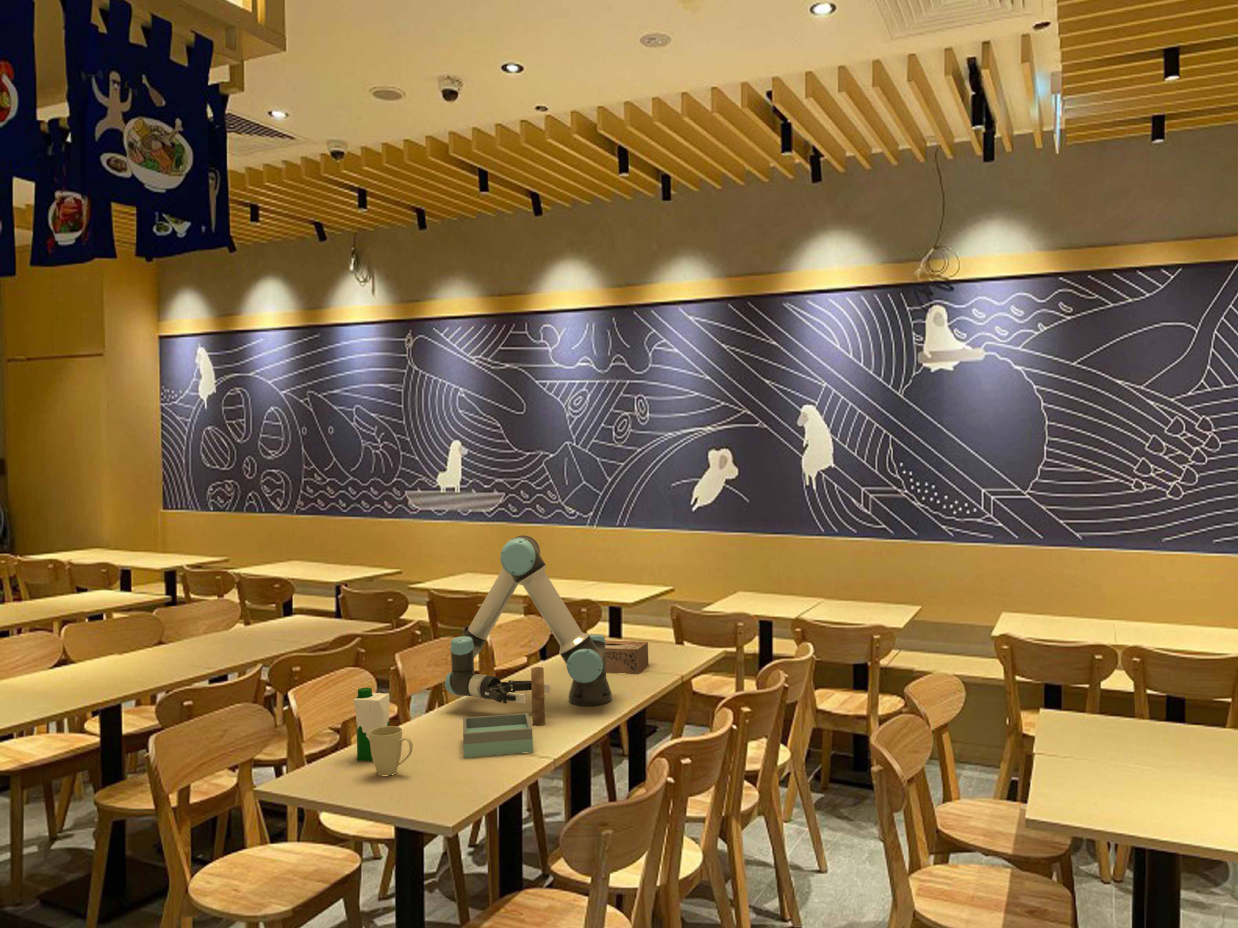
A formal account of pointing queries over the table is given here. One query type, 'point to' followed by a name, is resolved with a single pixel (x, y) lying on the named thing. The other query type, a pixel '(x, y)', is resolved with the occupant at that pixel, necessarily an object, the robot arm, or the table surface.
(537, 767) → the table surface
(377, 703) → the milk carton
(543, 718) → the peg
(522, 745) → the box
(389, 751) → the mug
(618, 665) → the tissue box cover
